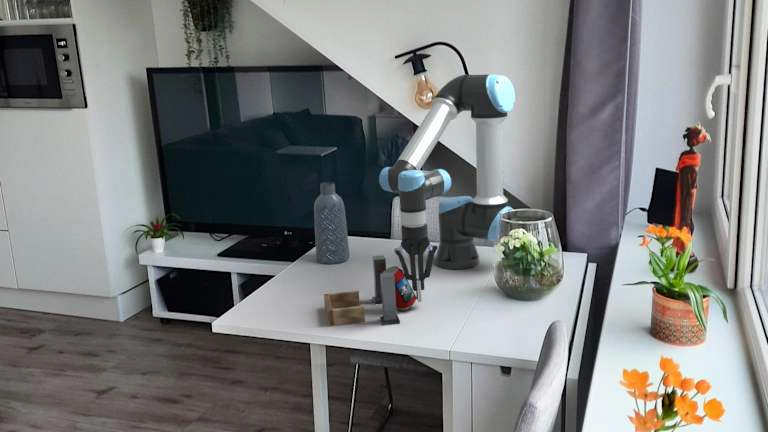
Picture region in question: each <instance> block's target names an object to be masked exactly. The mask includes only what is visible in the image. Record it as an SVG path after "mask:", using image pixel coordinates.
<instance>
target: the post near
mask: <svg viewBox="0 0 768 432" xmlns="http://www.w3.org/2000/svg"><path fill="white" fill-rule="evenodd" d="M380 277H381V294H382V304H381V306H382V315H380V316H379V320H380V323H381V325H382V326H389V325H390V326H391V325H398V324H401V321H400V318H399V316H398V313H397V307H396V296H395V278H394V274H393V272H391V273H381V274H380Z"/></svg>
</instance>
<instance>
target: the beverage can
mask: <svg viewBox="0 0 768 432" xmlns="http://www.w3.org/2000/svg"><path fill="white" fill-rule="evenodd" d="M391 272H393V274H394V278H395V296H396V309H398V310H406V309H409V308H410V307H412V306H413V305H414V304H415V303H416V301H417V298H416V292H415V291H414V290H413V288H412V286H411V284H410V282H409V280H407V278H406V276H405V274H404V271H403V269H401V268H399V266H397V265H392V266H390V267H388V268H386V270H385V271H384V272H383V273H391Z"/></svg>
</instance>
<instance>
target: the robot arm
mask: <svg viewBox="0 0 768 432" xmlns="http://www.w3.org/2000/svg"><path fill="white" fill-rule="evenodd" d="M515 102H516V93H515V88H514V86H513V83H512V82H511V80H510V79H509V78H508V77H507V76H505V75H502V74H461V75H458V76H456V77H455V78H453V79H451V80H450V81H448V82H446V84H445V85H444V86H443V87H441V88H440V90H438V92H437V93H436V94H435V96H434V97H433V98H432V100H431V102H430V106H431V107H430V109H429V111H428V113H427V114H426V115H425V117H424V118H423V120H422V121H421V123H420V125H419V126H418V127H417V129H416V131H415V132H414V133H413V135H412V137H411V138H410V139H409V142H408V143H407V145H406V146H405V148H404V149H403V151H402V153H401V154H400V156H399V157H398V159H397V161H396V162H395V164H394V165H393V166H386V167H384V168H382V170H381V172H380V174H379V176H378V178H379V179H378V182H379V186H380V187H381V189H382V190H384V191H387V192H390V193H391V192H392V193H393V194H394V193H398V197H399V206H400V207H399V210H400V211H399V213H400V224H401V227H400V228H401V230H400V231H401V242H400V245H399V247H396V248H394V249H393V251H394V253H395V254H396V256H397V257H398V260H399V263H400V264H401V268H402V271H403V273H404V274H405V276H406V278H407V280H408V281H411V285H412V286H411V288H412V289H413V291H414V292H415V295H416V301H417V302H418V303H422V302H423V300H422V299H423V298H422V291H425V280H426V278H430V276H431V273H432V272H431V271H432V267H433V262H434V256H435V265H436V266H437V267H439V268H442V269H446V270H464V269H465V270H467V269H470V268H473V267H476V266H478V265H479V264H480V255H479V252H478V250H477V247H476V244H475V241H474V238H475V239H481V240H488V241H491V242H493V241H494V242H498V241H497V234H498V227H499V220H500V215H501V213H503V212H506V211H511V210H514V208H513V207H511V206H509V201H508V200H509V198H507V197H506V196H505V195H504V134H503V131H504V130H503V129H504V128H503V127H504V126H503V123H504V121H505V120H506V119H507V118H508V113H509V112H511V111H512V110H513V108H514V104H515ZM462 112H470V119H472V120H473V122H474V123H475V149H476V151H475V154H476V155H475V157H476V159H475V162H476V195H475V196H474V197H472V196H468V195H462V196H460V195H459V196H454V197H449V198H448V197H447V198H445V199H443V200H441V201H440V202H439V204H438V213H437V214H438V224H439V228H438V229H439V245H438V246H437V244H435V243H432V242H431V241H430V239H429V235H428V224H427V222H428V218H427V204H426V201H427V200H429V199H432V198H435V197H438V196H439V197H440V196H442V195H444V194H445V193H447V192H448V191H449V190H450V189H451V187H452V178H451V176H450V174H449V173H448V172H447V171H446V170H445V169H442V168H439V169H433V170H430V171H429V170H421V168H422V167H423V166H424V165H425V162H426V161H427V159H428V158H429V156H430V154H431V153H432V151H433V150H434V148H435V146H436V145H437V144H438V142H439V140H440V138H441V137H442V136H443V133H444V132H445V131H446V129H447V127H448V126H449V124H450V123H451V121H452V120H455V119H456V118H457V117H458V115H459V114H461V113H462ZM427 249H428V253H427V257H426V262H425V266H424V254H425V252H426V251H427ZM404 251H405V252H406V253H407V254H408V257H409V266H410V268H409V269H410V272H409V269H408V266H407V263H406V260H405V257H404V256H403V254H404ZM435 253H436V255H435ZM416 256H417V265H416ZM417 271H418V273H417ZM417 274H418V276H417Z"/></svg>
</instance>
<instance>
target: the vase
mask: <svg viewBox="0 0 768 432" xmlns="http://www.w3.org/2000/svg"><path fill="white" fill-rule="evenodd" d="M319 186H320V188H319V189H320V194H319V195H318V196H317V198H316V199H315V202H314V205H313V214H314V215H313V216H314V217H313V218H314V219H313V220H314V222H313V223H314V237H315V238H314V239H315V241H314V243H315V259H316V261H317V262H318V263H320V264H325V265H334V264H335V265H337V264H340V263H343V262H346V261H348V260H349V259H350V244H349V237H348V227H347V218H346V208H345V204H344V201H343V199H342V197H341V196H340V195H339V194H337V193H336V185H335V182H331V181H328V182H321V183H320V184H319Z"/></svg>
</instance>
